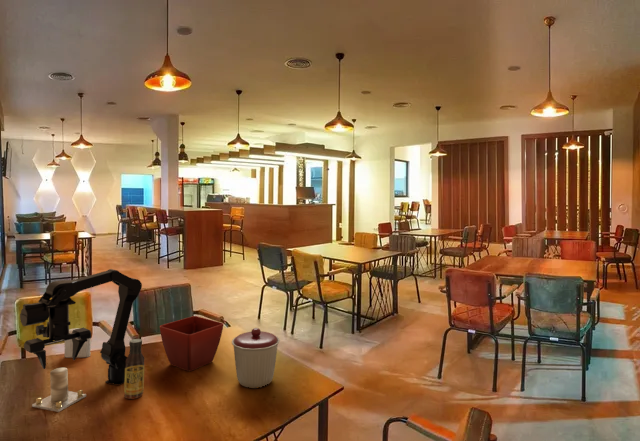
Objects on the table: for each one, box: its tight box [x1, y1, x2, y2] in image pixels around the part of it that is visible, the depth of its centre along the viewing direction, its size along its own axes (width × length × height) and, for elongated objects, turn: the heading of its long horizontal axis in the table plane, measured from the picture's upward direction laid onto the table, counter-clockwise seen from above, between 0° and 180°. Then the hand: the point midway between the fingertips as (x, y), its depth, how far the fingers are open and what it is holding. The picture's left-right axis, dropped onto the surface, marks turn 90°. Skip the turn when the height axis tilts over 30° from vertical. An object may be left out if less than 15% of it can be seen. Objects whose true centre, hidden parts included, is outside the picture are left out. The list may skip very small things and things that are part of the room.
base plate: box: [31, 389, 87, 413], centre depth 139 cm, size 11×11×2 cm
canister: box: [231, 327, 281, 389], centre depth 156 cm, size 18×18×21 cm
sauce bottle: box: [123, 338, 145, 400], centre depth 143 cm, size 6×6×20 cm
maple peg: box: [49, 367, 69, 403], centre depth 138 cm, size 5×5×10 cm
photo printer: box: [64, 327, 92, 359], centre depth 178 cm, size 10×4×12 cm, turn 98°
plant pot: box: [159, 315, 224, 372], centre depth 172 cm, size 19×19×17 cm
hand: (59, 364), depth 138 cm, fingers open, 9 cm apart
